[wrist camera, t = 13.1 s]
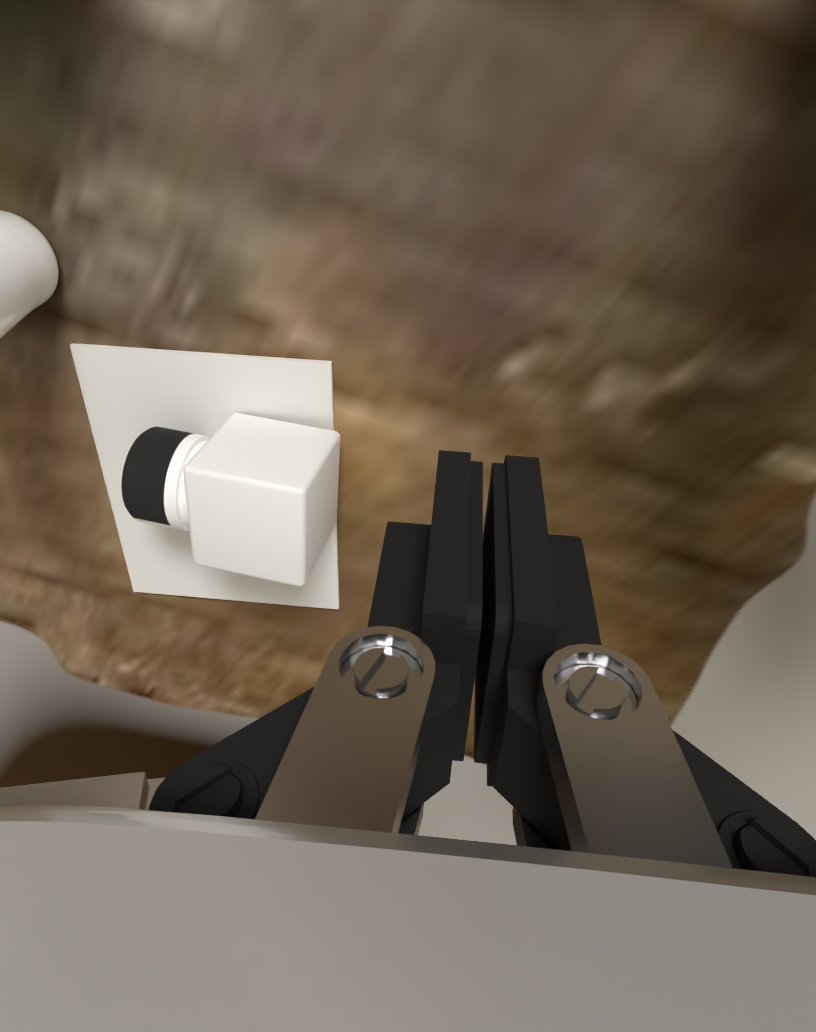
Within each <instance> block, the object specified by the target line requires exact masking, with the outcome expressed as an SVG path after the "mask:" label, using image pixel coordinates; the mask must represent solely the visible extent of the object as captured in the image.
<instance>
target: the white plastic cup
mask: <svg viewBox="0 0 816 1032" xmlns="http://www.w3.org/2000/svg"><path fill="white" fill-rule="evenodd" d="M58 277H59V269H58V263H57V259H56V256H55V254H54V251H53V249H52V247H51V245H50V244H49V242H48V241H47V239H46V238H45V237H44V235H43V234H42V233H41V232H40V231H39V230H38V229H37V228H36V227H35V226H34V225H32V224H31V223H30V222H28V221H27V220H25V219H24V218H22V217H20V216H18V215H16V214H13V213H10V212H7V211H2V210H0V339H1V338H2V337H3V336H4V335H5V334H6V333H7V332H9V331H10V330H11V329H12V328H13V327H14V326H15V325H16V324H18V323H19V322H20V321H21V320H22V319H23V318H24V317H25V316H27V315H28V314H29V313H30V312H31V311H32V310H34V309H36V308H37V307H39V306H40V305H41V304H43V303H44V302H46V301H47V300H48V299H49V298H50V297H51V296H52V294H53V293H54V291H55V289H56V287H57V283H58Z"/></svg>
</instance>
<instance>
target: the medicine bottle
mask: <svg viewBox="0 0 816 1032" xmlns="http://www.w3.org/2000/svg"><path fill="white" fill-rule="evenodd" d="M339 455H340V435H339V433H338V432H336V431H332V430H326V429H321V428H315V427H310V426H305V425H299V424H294V423H289V422H283V421H278V420H272V419H267V418H262V417H256V416H251V415H246V414H240V413H234V414H232V415H231V416H230V417H229V418H228V419H227V421H226V422H225V423H224V424H223V425H222V426H221V427H220V428H219V429H218V430H217V431H216V432H215V433H214V435H213V436H212V437H209V436H205V435H200V434H194V433H189V432H184V431H179V430H173V429H168V428H163V427H152V428H149V429H148V430H146V431H144V432H143V433H141V434H140V435H139V436H138V437H137V438H136V440H135V441H134V443H133V444H132V446H131V448H130V450H129V452H128V454H127V457H126V460H125V464H124V468H123V473H122V483H121V488H122V498H123V502H124V505H125V507H126V509H127V511H128V512H129V514H130V515H131V516H132V517H133V518H134V519H135V520H137V521H140V522H145V523H150V524H154V525H159V526H164V527H169V528H174V529H178V530H183V531H189V532H190V538H191V547H192V555H193V561H194V563H195V564H197V565H200V566H205V567H210V568H215V569H219V570H224V571H229V572H233V573H238V574H243V575H247V576H252V577H257V578H261V579H266V580H271V581H275V582H280V583H285V584H289V585H294V586H299V587H300V586H303V585H305V583H306V581H307V579H308V577H309V576H310V574H311V572H312V570H313V568H314V566H315V564H316V562H317V560H318V558H319V556H320V554H321V552H322V550H323V548H324V546H325V544H326V542H327V540H328V538H329V536H330V534H331V532H332V530H333V529H334V527H335V525H336V522H337V504H338V479H339Z"/></svg>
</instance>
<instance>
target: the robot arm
mask: <svg viewBox="0 0 816 1032" xmlns="http://www.w3.org/2000/svg"><path fill="white" fill-rule="evenodd" d="M474 678H475V714H474V762H475V763H486V764H487V786H494V788H495V789H496V790H497V791H498V792H499V793H500V794H501V795H502V796H503V797H504V798H505V799H506V800H507V801H508V802H509V803H510V804H511V805H512V806H513V810H512V811H513V812H512V813H513V828H514V833H515V838H516V843H517V846H516V845H505V844H496V843H486V842H477V841H467V840H457V839H447V838H438V837H428V836H418V833H419V828H420V824H421V820H422V816H423V806H424V802H425V801H427V800H428V799H429V798H430V797H432V796H433V795H434V794H436V793H437V792H438V791H440V790H441V789H442V788H443V787H445V786H446V785H448V784H449V783H450V774H451V766H452V760H455V761H463V759H464V753H465V745H466V738H467V730H468V723H469V715H470V708H471V700H472V693H473V685H474ZM0 1032H816V840H815V839H814V838H813V837H812V836H811V835H810V834H809V833H807V832H806V831H805V830H804V829H803V828H802V827H801V826H800V825H798V823H796V822H795V821H794V820H792V819H791V818H790V817H788V816H787V815H786V814H784V813H783V812H782V811H780V810H779V809H778V808H776V807H775V806H774V805H772V804H771V803H770V802H768V801H767V800H766V799H764V798H763V797H762V796H760V795H759V794H758V793H756V792H755V791H753V790H752V789H751V788H750V787H748V786H747V785H745V784H744V783H743V782H742V781H740V780H739V779H738V778H736V777H735V776H734V775H732V774H731V773H729V772H728V771H727V770H726V769H724V768H723V767H722V766H720V765H719V764H717V763H716V762H715V761H714V760H712V759H711V758H710V757H708V756H707V755H705V754H704V753H703V752H702V751H700V750H699V749H697V748H696V747H695V746H694V745H692V744H691V743H690V742H688V741H687V740H685V739H684V738H683V737H681V736H680V735H679V734H677V733H676V732H675V731H673V730H672V728H671V726H670V723H669V721H668V719H667V717H666V714H665V712H664V710H663V707H662V705H661V703H660V701H659V698H658V696H657V694H656V692H655V689H654V687H653V685H652V683H651V681H650V679H649V678H648V676H647V675H646V673H645V672H644V670H643V669H642V668H641V667H640V666H639V665H637V664H636V663H635V662H634V661H633V660H632V659H631V658H629V657H627V656H625V655H624V654H622V653H620V652H618V651H616V650H614V649H610V648H607V647H604V646H601V640H600V635H599V629H598V624H597V619H596V613H595V608H594V603H593V597H592V592H591V587H590V581H589V576H588V570H587V565H586V560H585V554H584V549H583V544H582V541H581V539H580V538H579V537H575V536H562V535H550V534H548V528H547V520H546V512H545V504H544V496H543V488H542V480H541V471H540V463H539V458H535V457H522V456H508V455H506V456H505V460H504V464H502V463H492V468H491V476H490V484H489V492H488V500H487V508H486V517H485V525H484V533H483V462H475V461H471V453H468V452H455V451H442V450H439V455H438V465H437V475H436V485H435V494H434V504H433V514H432V524H431V525H425V524H412V523H400V522H388V523H387V527H386V532H385V538H384V543H383V548H382V553H381V559H380V564H379V569H378V575H377V580H376V585H375V591H374V596H373V601H372V606H371V612H370V617H369V622H368V627H367V628H362V629H359V630H357V631H354V632H352V633H349V634H348V635H346V636H345V637H344V638H343V639H341V640H340V641H339V642H337V643H336V645H335V646H334V648H333V649H332V651H331V652H330V654H329V656H328V658H327V660H326V662H325V665H324V667H323V669H322V671H321V674H320V676H319V678H318V680H317V682H316V685H315V687H313V688H311V689H310V690H308V691H306V692H304V693H303V694H301V695H299V696H297V697H296V698H294V699H292V700H291V701H289V702H287V703H285V704H284V705H282V706H280V707H279V708H277V709H275V710H273V711H272V712H270V713H268V714H266V715H265V716H263V717H261V718H260V719H258V720H256V721H254V722H253V723H251V724H249V725H247V726H246V727H244V728H242V729H241V730H239V731H237V732H235V733H234V734H232V735H230V736H228V737H227V738H225V739H223V740H222V741H220V742H218V743H216V744H215V745H213V746H212V747H210V748H208V749H206V750H204V751H203V752H201V753H199V754H197V755H196V756H194V757H192V758H191V759H189V760H187V761H185V762H184V763H182V764H181V765H180V766H179V767H177V768H176V769H174V770H173V771H172V772H171V773H169V774H168V775H167V776H166V778H159V779H150V780H147V778H146V774H145V772H140V773H132V774H123V775H115V776H105V777H96V778H87V779H78V780H69V781H60V782H51V783H42V784H33V785H24V786H16V787H6V788H0Z"/></svg>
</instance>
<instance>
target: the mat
mask: <svg viewBox="0 0 816 1032" xmlns="http://www.w3.org/2000/svg"><path fill="white" fill-rule="evenodd" d="M70 348H71V352H72V356H73V360H74V364H75V367H76V371H77V375H78V379H79V383H80V387H81V390H82V394H83V398H84V402H85V406H86V410H87V414H88V417H89V421H90V425H91V429H92V433H93V437H94V441H95V444H96V448H97V452H98V456H99V460H100V464H101V468H102V471H103V475H104V479H105V483H106V487H107V491H108V495H109V498H110V502H111V506H112V510H113V514H114V518H115V521H116V525H117V529H118V533H119V537H120V541H121V545H122V548H123V552H124V556H125V560H126V564H127V568H128V572H129V575H130V579H131V583H132V587H133V591H134V592H143V593H155V594H166V595H178V596H189V597H201V598H212V599H224V600H235V601H247V602H258V603H270V604H281V605H293V606H305V607H316V608H328V609H339V576H338V543H337V522H336V525H335V527H334V529H333V530H332V532H331V534H330V536H329V538H328V540H327V542H326V544H325V546H324V548H323V550H322V552H321V554H320V556H319V558H318V560H317V562H316V564H315V566H314V568H313V570H312V572H311V574H310V576H309V577H308V579H307V581H306V583H305V585H303V586H300V587H299V586H294V585H289V584H285V583H280V582H275V581H271V580H266V579H261V578H257V577H252V576H247V575H243V574H238V573H233V572H229V571H224V570H219V569H215V568H210V567H205V566H200V565H197V564H195V563H194V561H193V555H192V547H191V538H190V532H189V531H183V530H178V529H174V528H169V527H164V526H159V525H154V524H150V523H145V522H140V521H137V520H135V519H134V518H133V517H132V516H131V515H130V514H129V512H128V511H127V509H126V507H125V505H124V502H123V498H122V488H121V483H122V473H123V468H124V464H125V460H126V457H127V454H128V452H129V450H130V448H131V446H132V444H133V443H134V441H135V440H136V438H137V437H138V436H139V435H140V434H141V433H143V432H144V431H146V430H148V429H149V428H152V427H163V428H168V429H173V430H179V431H184V432H189V433H194V434H200V435H205V436H209V437H212V436H213V435H214V433H215V432H216V431H217V430H218V429H219V428H220V427H221V426H222V425H223V424H224V423H225V422H226V421H227V419H228V418H229V417H230V416H231V415H232V414H234V413H240V414H246V415H251V416H256V417H262V418H267V419H272V420H278V421H283V422H289V423H294V424H299V425H305V426H310V427H315V428H321V429H326V430H332V431H334V411H333V378H332V361H322V360H308V359H293V358H279V357H264V356H250V355H235V354H221V353H206V352H192V351H177V350H162V349H148V348H133V347H119V346H104V345H90V344H75V343H72V344H71V345H70Z"/></svg>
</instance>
